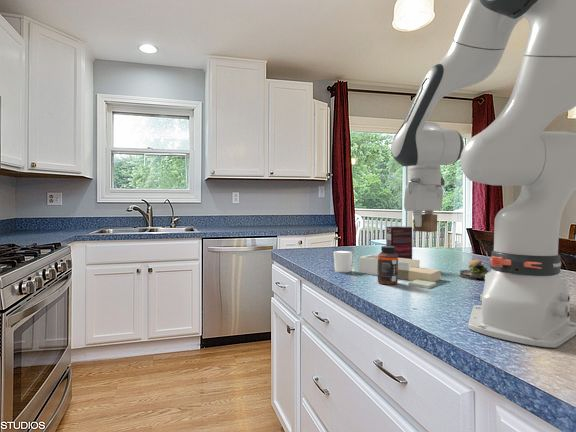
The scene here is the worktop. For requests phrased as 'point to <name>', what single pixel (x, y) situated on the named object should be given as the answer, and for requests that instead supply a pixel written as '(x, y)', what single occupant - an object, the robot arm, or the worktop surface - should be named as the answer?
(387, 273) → the supplement bottle
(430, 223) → the walnut block
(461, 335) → the worktop surface
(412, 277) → the trough
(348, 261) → the white cylinder
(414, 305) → the worktop surface
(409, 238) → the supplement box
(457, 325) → the worktop surface
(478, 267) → the burger
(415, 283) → the coaster
